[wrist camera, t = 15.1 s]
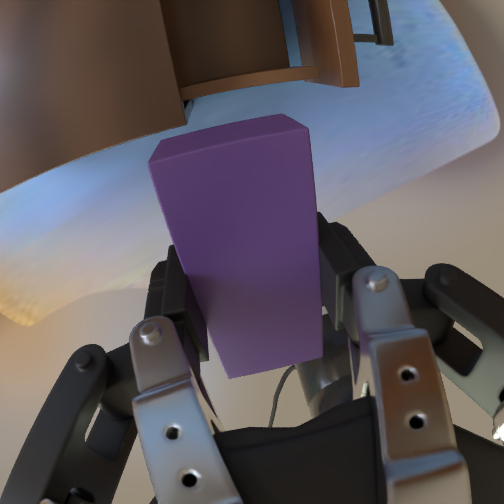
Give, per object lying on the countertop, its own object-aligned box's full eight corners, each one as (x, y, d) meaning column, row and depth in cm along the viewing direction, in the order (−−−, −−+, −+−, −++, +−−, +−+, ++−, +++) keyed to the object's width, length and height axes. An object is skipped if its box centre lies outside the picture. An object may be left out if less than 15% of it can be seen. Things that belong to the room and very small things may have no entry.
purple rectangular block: (306, 314, 14) (323, 357, 12) (222, 334, 14) (227, 379, 12) (283, 113, 9) (309, 127, 7) (159, 140, 9) (145, 163, 7)
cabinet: (163, -37, 16) (145, -84, 8) (193, 107, 23) (187, 125, 16) (6, 32, 15) (-59, 32, 7) (37, 160, 23) (-18, 203, 15)
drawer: (344, -48, 16) (388, -75, 9) (366, 77, 23) (419, 86, 16) (115, -21, 15) (84, -50, 9) (144, 114, 22) (120, 131, 16)
